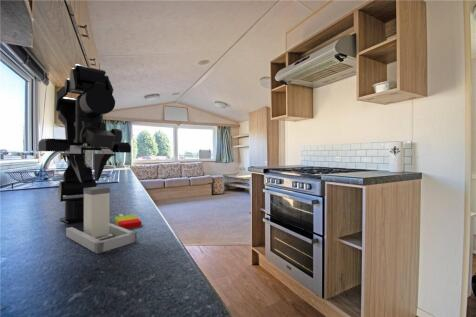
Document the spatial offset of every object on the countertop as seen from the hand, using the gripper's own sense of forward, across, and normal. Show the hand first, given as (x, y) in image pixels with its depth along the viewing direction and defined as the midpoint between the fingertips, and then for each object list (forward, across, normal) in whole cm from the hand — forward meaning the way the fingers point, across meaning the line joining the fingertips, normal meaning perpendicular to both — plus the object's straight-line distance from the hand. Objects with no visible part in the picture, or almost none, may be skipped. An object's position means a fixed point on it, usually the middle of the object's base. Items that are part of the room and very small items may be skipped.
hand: (89, 181), depth 58 cm
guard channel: (+13, 0, -6) cm, 14 cm away
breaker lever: (+12, 0, -4) cm, 13 cm away
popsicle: (+14, +11, +3) cm, 18 cm away
